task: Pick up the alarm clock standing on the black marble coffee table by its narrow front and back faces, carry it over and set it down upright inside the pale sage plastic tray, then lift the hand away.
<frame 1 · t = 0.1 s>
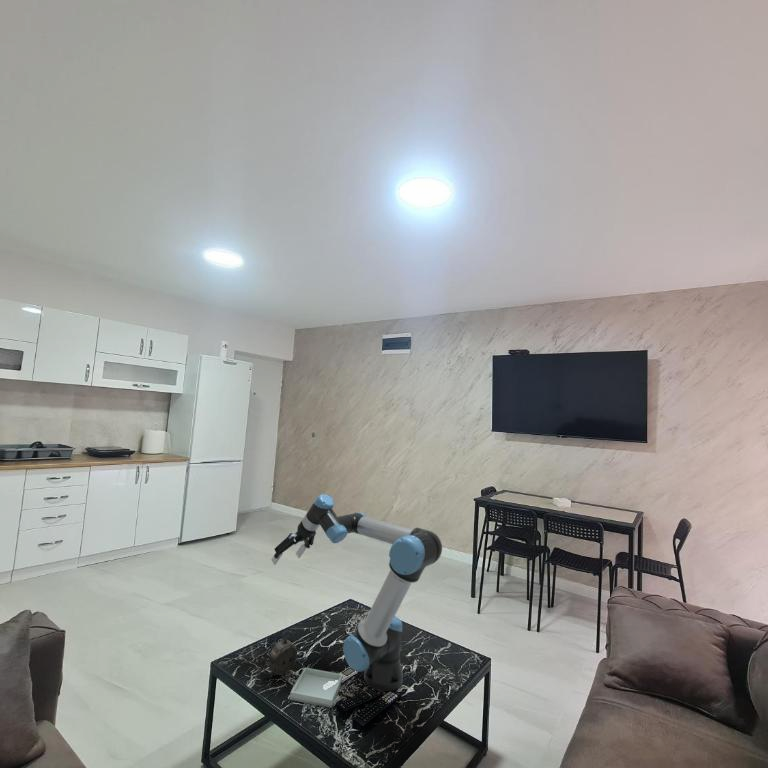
hand: (285, 558, 183), 36 cm above the table, tool tilted 35°, fingers open, 13 cm apart
tray: (317, 690, 152), on the table
alarm clock: (281, 676, 159), on the table
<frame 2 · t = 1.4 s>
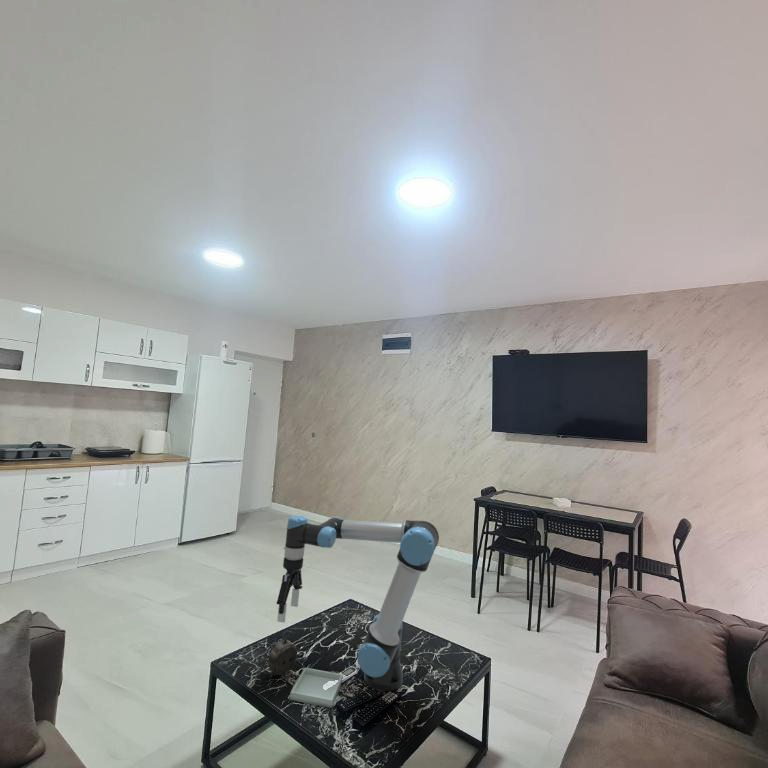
hand: (287, 613, 161), 23 cm above the table, tool pointing down, fingers open, 13 cm apart
nothing on the table moved.
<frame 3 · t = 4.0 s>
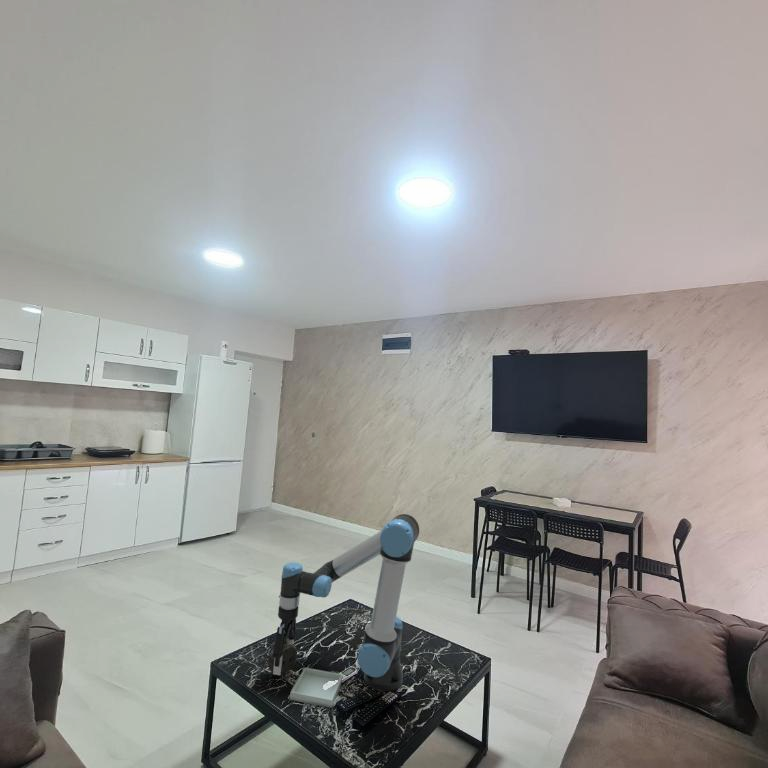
hand: (282, 665, 159), 4 cm above the table, tool pointing down, fingers closed on alarm clock, 11 cm apart
alarm clock: (281, 676, 159), on the table, touching gripper
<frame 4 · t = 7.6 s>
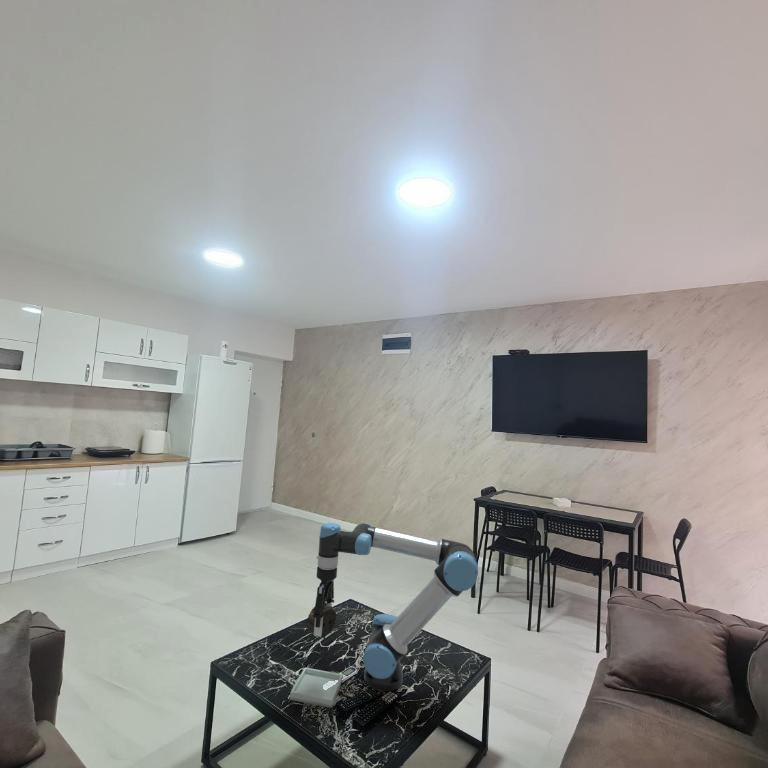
hand: (322, 628, 154), 22 cm above the table, tool pointing down, fingers closed on alarm clock, 11 cm apart
alarm clock: (321, 639, 153), point 18 cm above the table, touching gripper
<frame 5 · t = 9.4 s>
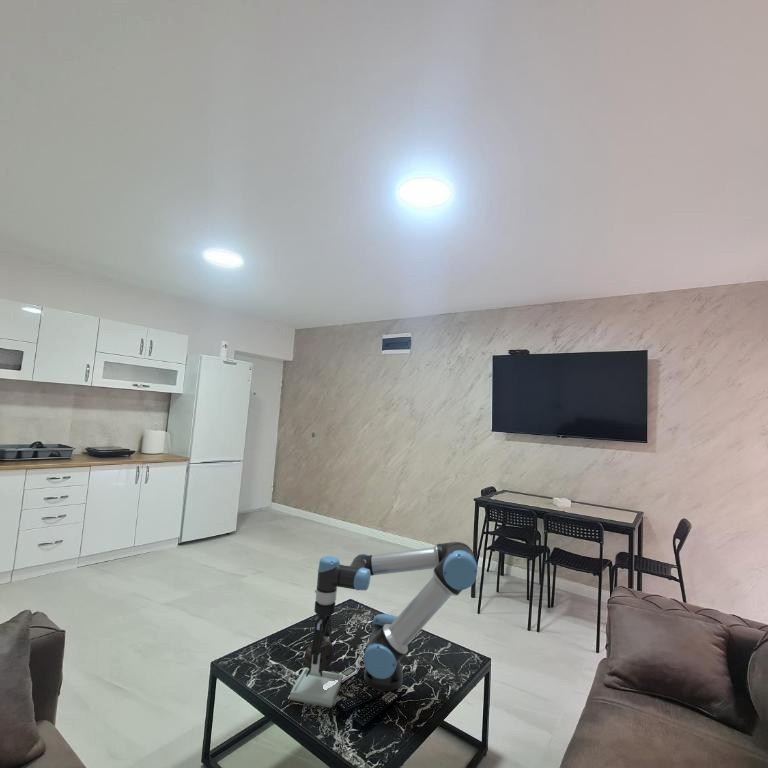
hand: (319, 663, 153), 9 cm above the table, tool pointing down, fingers closed on alarm clock, 11 cm apart
alarm clock: (318, 674, 152), point 6 cm above the table, touching gripper
when the fingers open (6 cm above the table, at t = 11.1 s): alarm clock drops 1 cm, resting on tray.
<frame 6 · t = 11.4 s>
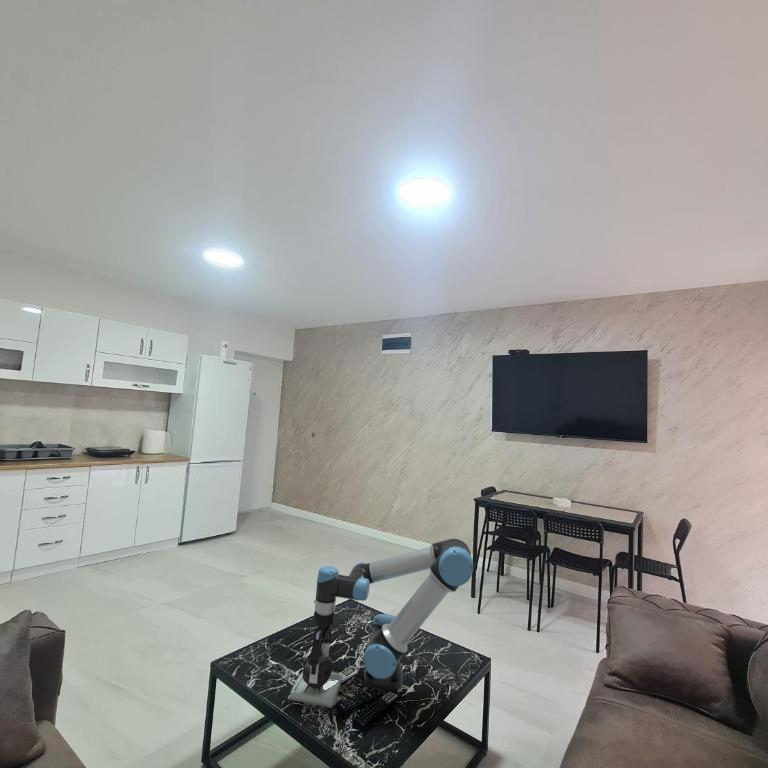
hand: (318, 671, 152), 6 cm above the table, tool pointing down, fingers open, 13 cm apart
alarm clock: (316, 689, 151), point 1 cm above the table, touching tray
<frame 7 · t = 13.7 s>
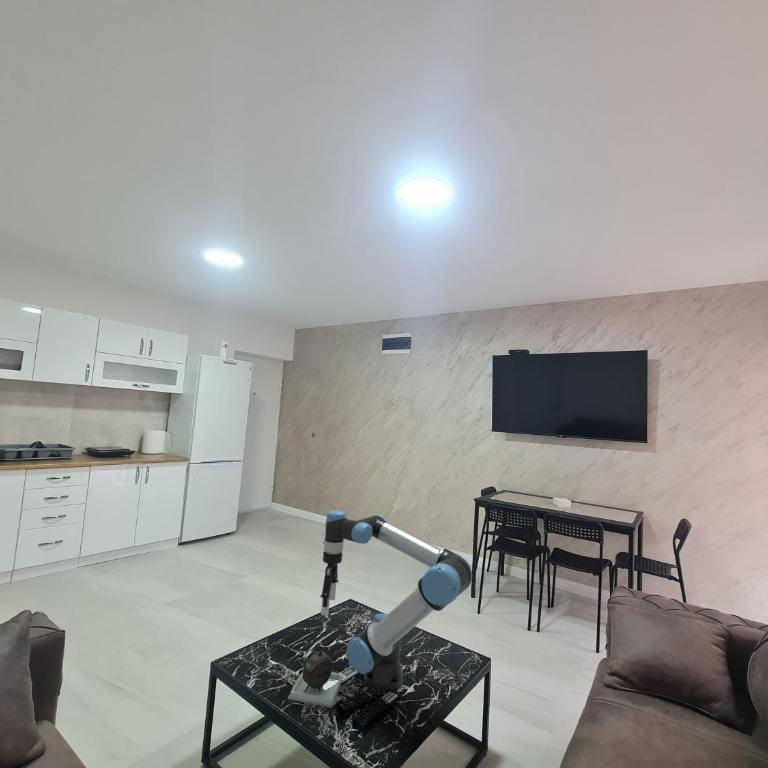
hand: (328, 607, 163), 25 cm above the table, tool pointing down, fingers open, 13 cm apart
nothing on the table moved.
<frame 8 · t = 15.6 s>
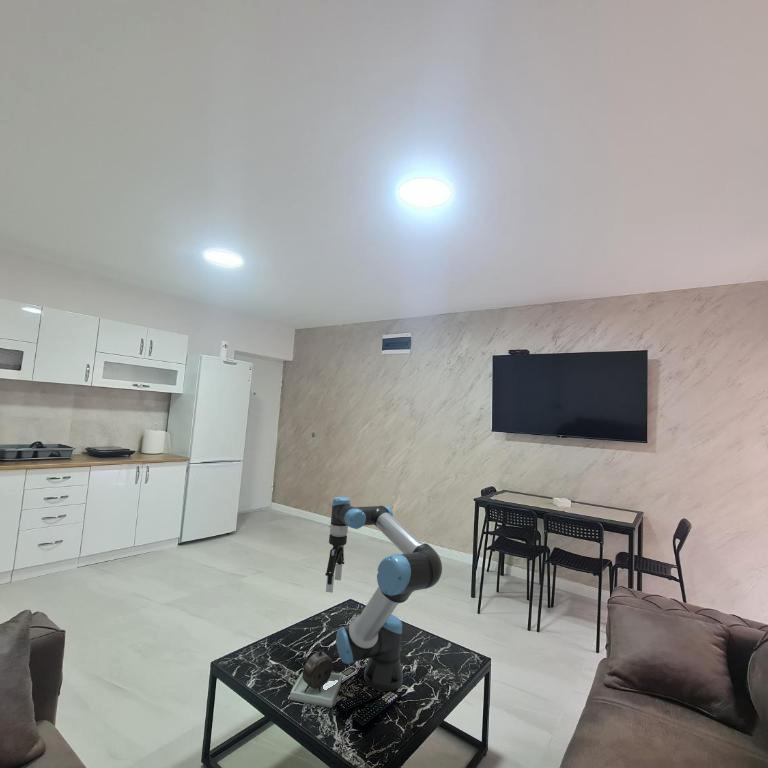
hand: (333, 585, 176), 29 cm above the table, tool pointing down, fingers open, 13 cm apart
nothing on the table moved.
at the end: alarm clock inside the target area on the tray (0.8 cm from its centre), point 0.6 cm above the tray's base; alarm clock tilted 0°; the gripper is holding nothing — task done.
